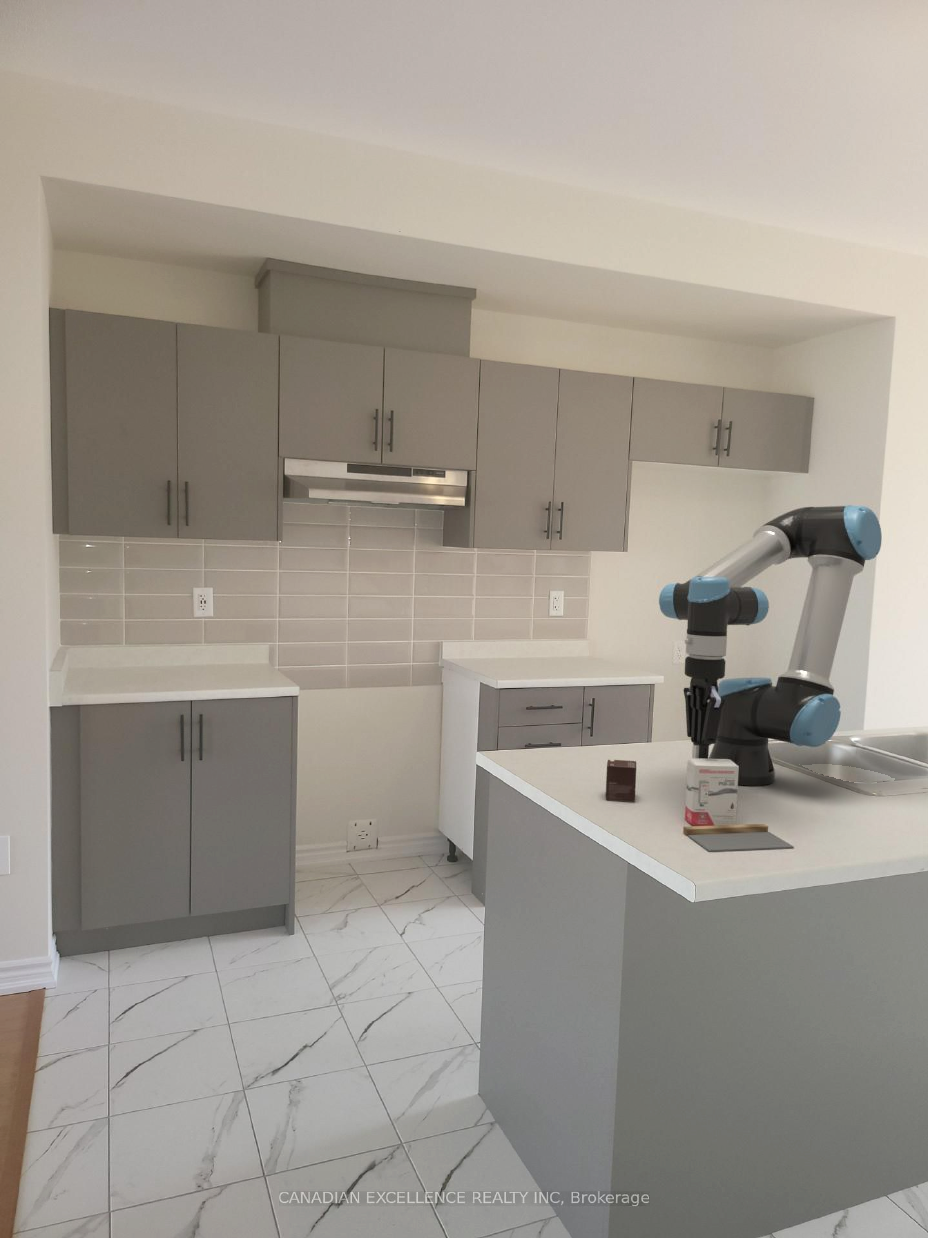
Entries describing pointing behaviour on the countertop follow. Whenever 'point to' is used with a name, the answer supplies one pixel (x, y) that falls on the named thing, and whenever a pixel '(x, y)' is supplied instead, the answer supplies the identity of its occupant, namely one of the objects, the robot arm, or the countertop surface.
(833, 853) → the countertop surface
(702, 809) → the ink box
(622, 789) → the box
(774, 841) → the mat
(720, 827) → the batten
